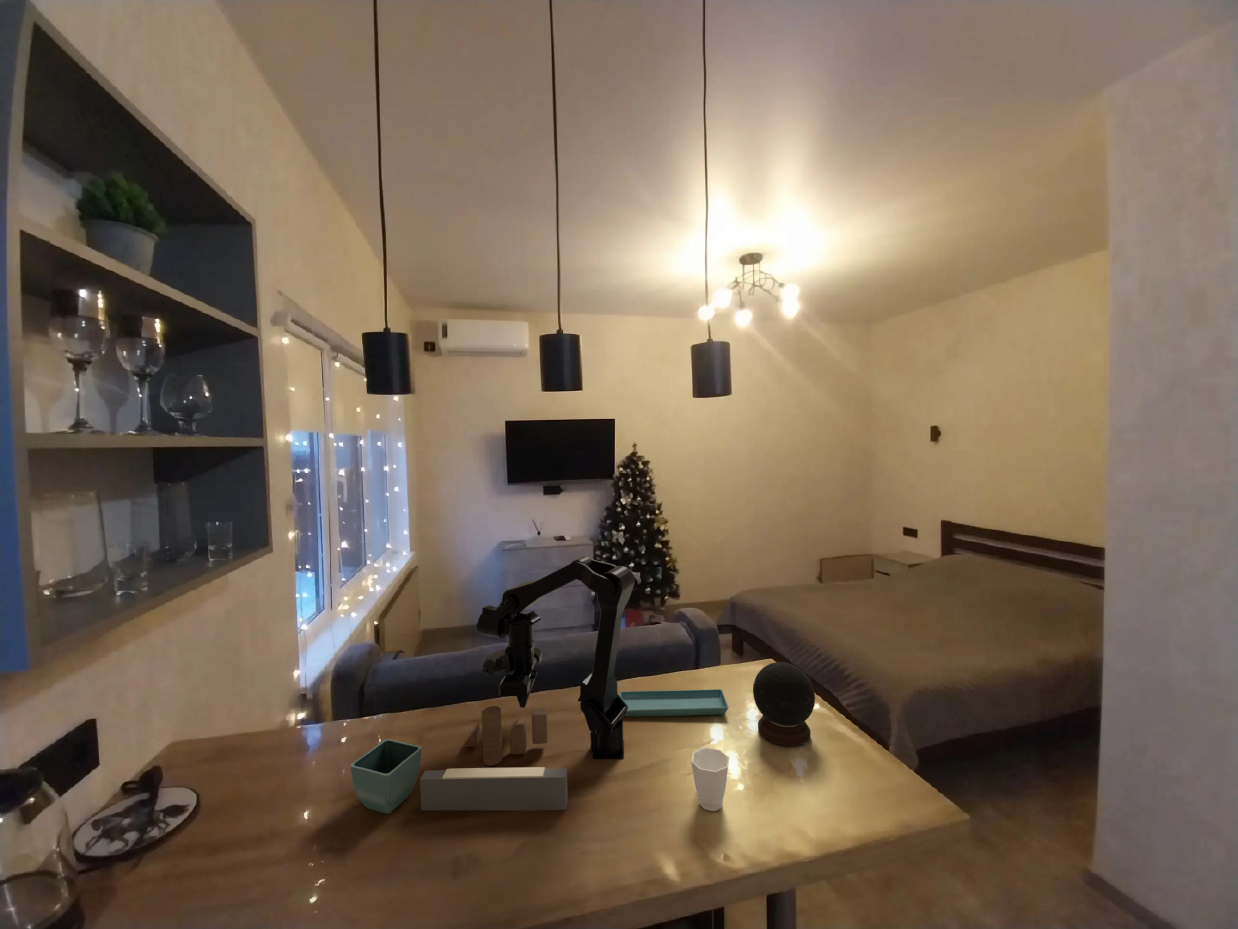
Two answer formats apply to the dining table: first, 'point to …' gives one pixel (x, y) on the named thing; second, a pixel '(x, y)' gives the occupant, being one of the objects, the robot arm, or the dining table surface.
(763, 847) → the dining table surface
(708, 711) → the shallow long dish
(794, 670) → the ball on wooden stand
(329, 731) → the dining table surface
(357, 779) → the flower pot
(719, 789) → the cup
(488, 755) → the wooden block set
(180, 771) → the dining table surface
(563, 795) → the board
